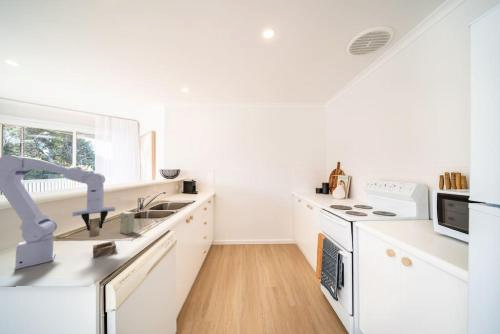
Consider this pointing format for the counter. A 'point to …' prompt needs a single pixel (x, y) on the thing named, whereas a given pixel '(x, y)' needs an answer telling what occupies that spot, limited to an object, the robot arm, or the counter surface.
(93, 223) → the beech peg
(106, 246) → the walnut holder
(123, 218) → the skincare box
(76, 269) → the counter surface
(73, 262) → the counter surface
